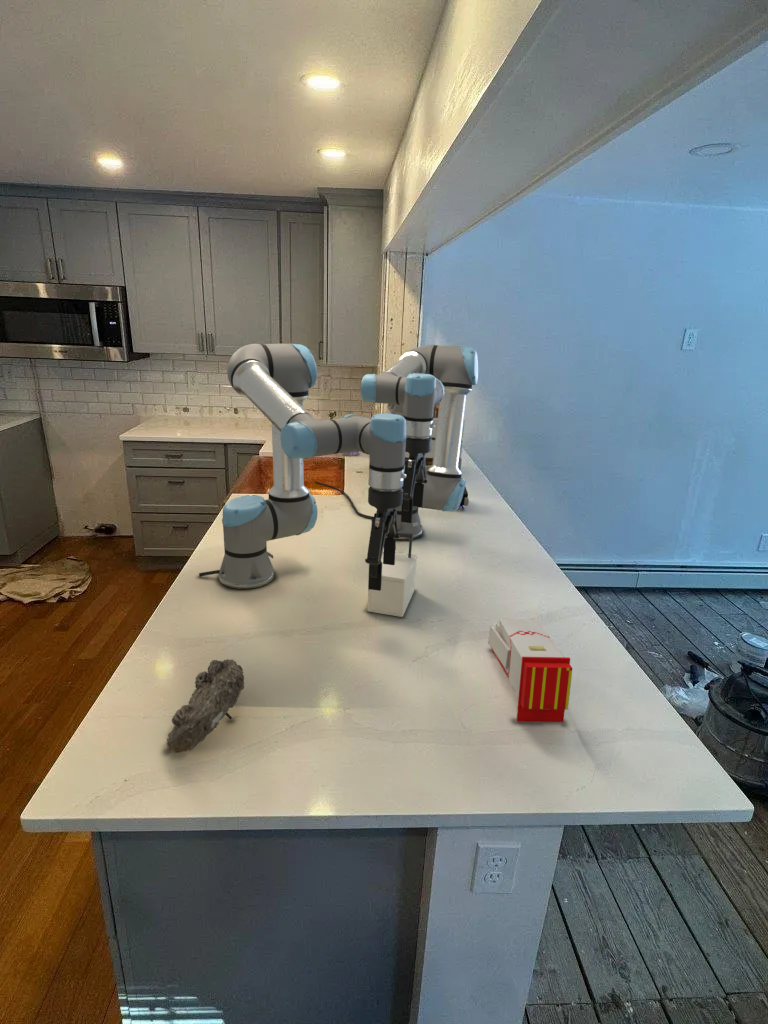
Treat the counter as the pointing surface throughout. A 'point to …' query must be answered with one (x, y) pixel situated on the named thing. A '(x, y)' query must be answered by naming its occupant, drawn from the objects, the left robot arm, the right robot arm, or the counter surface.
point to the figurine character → (464, 499)
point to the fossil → (206, 705)
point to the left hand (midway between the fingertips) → (382, 576)
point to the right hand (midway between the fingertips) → (412, 513)
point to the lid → (400, 563)
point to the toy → (533, 669)
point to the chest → (392, 596)
